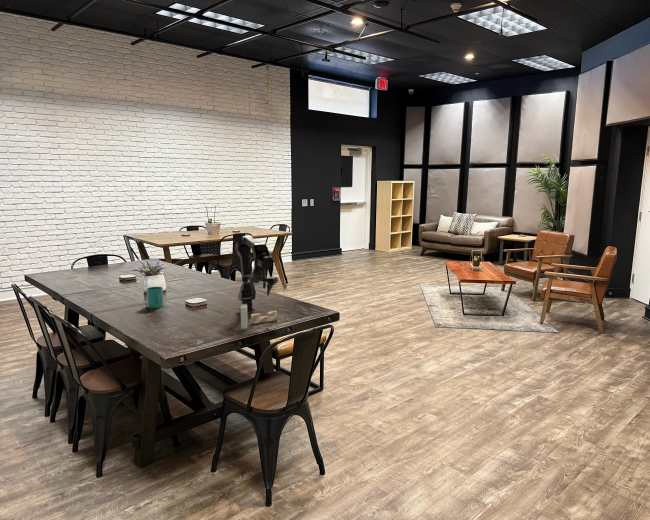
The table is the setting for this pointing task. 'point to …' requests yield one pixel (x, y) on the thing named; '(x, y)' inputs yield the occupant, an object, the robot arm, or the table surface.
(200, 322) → the table surface
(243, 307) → the tall green pillar
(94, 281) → the table surface
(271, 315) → the birch rail
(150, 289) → the cup
